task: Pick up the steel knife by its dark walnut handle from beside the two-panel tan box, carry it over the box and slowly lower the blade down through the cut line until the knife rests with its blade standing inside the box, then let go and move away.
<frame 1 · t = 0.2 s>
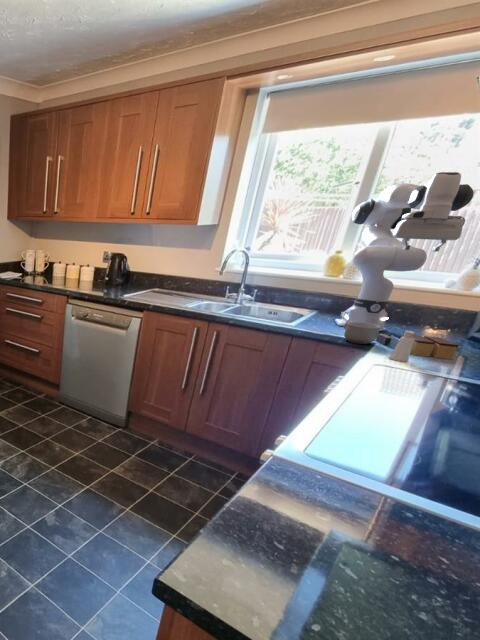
hand: (420, 250, 176), 38 cm above the countertop, tool pointing down, fingers open, 8 cm apart
pepper shaker: (397, 360, 161), on the countertop
two-panel tan box: (423, 352, 171), on the countertop
teacup: (354, 341, 185), on the countertop
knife: (383, 343, 184), on the countertop
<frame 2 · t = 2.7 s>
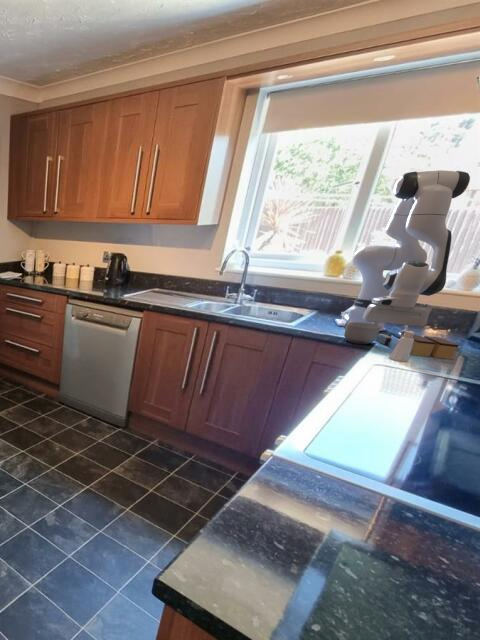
hand: (388, 334, 182), 4 cm above the countertop, tool pointing down, fingers open, 7 cm apart
teacup: (354, 341, 185), on the countertop, touching gripper
everything else where it was.
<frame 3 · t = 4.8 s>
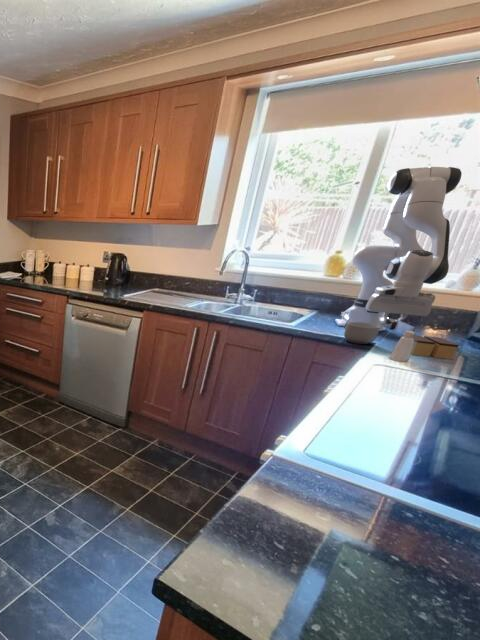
hand: (390, 323, 181), 9 cm above the countertop, tool pointing down, fingers closed on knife, 2 cm apart
teacup: (354, 341, 185), on the countertop
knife: (389, 327, 182), point 7 cm above the countertop, touching gripper
everything else where it was.
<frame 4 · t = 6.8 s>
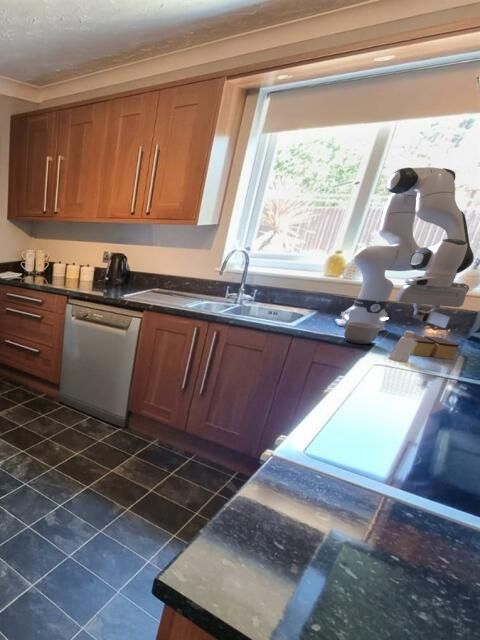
hand: (422, 315, 176), 13 cm above the countertop, tool pointing down, fingers closed on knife, 2 cm apart
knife: (420, 319, 177), point 12 cm above the countertop, touching gripper
everything else where it was.
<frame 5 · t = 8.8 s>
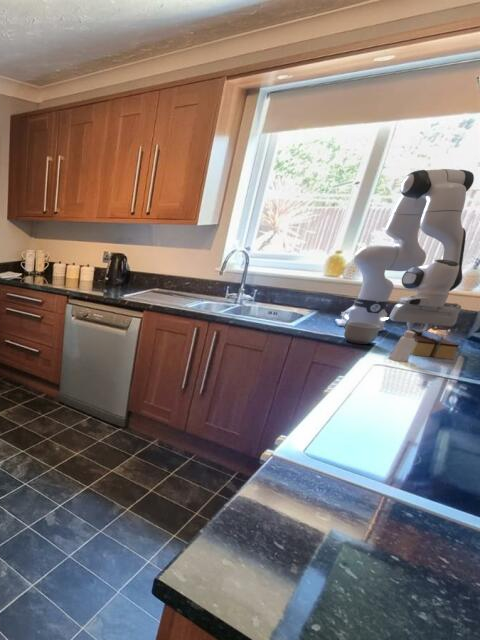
hand: (415, 333, 179), 5 cm above the countertop, tool pointing down, fingers closed on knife, 2 cm apart
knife: (413, 337, 179), point 4 cm above the countertop, touching gripper
everything else where it was.
when the fingers open (2 cm above the countertop, at t = 10.0 s): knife stays where it is, resting in two-panel tan box.
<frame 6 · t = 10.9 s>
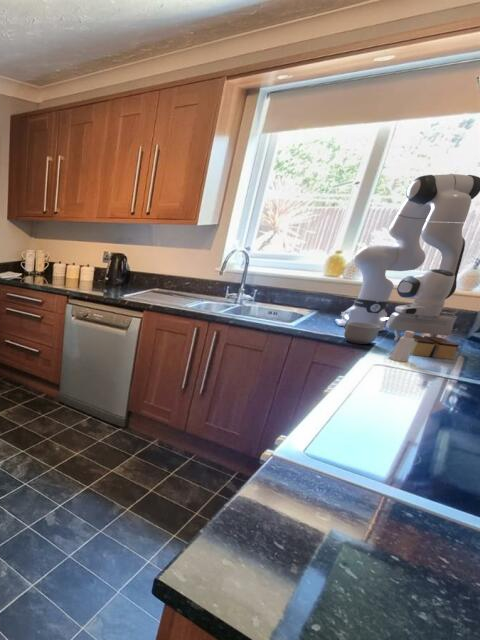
hand: (411, 342, 180), 2 cm above the countertop, tool pointing down, fingers open, 8 cm apart
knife: (409, 346, 181), resting in two-panel tan box
everything else where it was.
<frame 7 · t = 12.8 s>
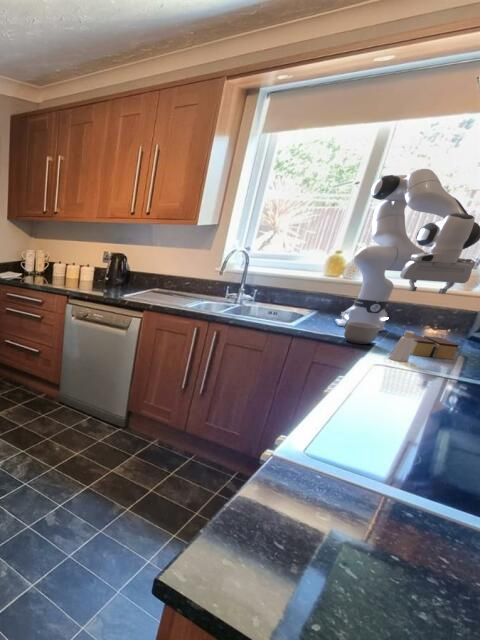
hand: (426, 292, 174), 23 cm above the countertop, tool pointing down, fingers open, 8 cm apart
nothing on the countertop moved.
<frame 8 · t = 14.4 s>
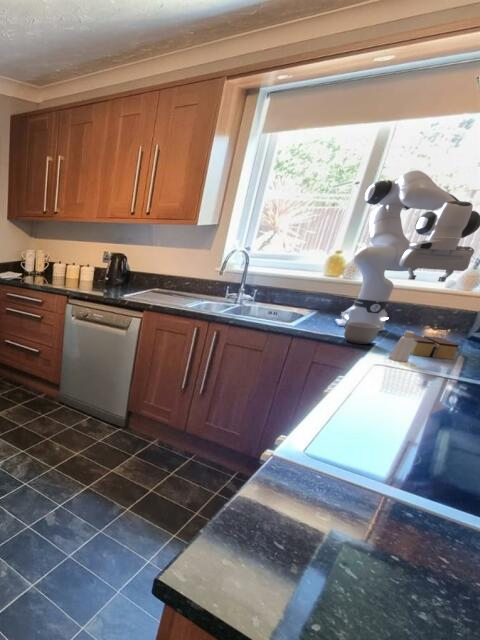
hand: (426, 280, 173), 27 cm above the countertop, tool pointing down, fingers open, 8 cm apart
nothing on the countertop moved.
at the end: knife 0.2 cm from the target spot, resting in two-panel tan box; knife tilted 0°; the gripper is holding nothing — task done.
